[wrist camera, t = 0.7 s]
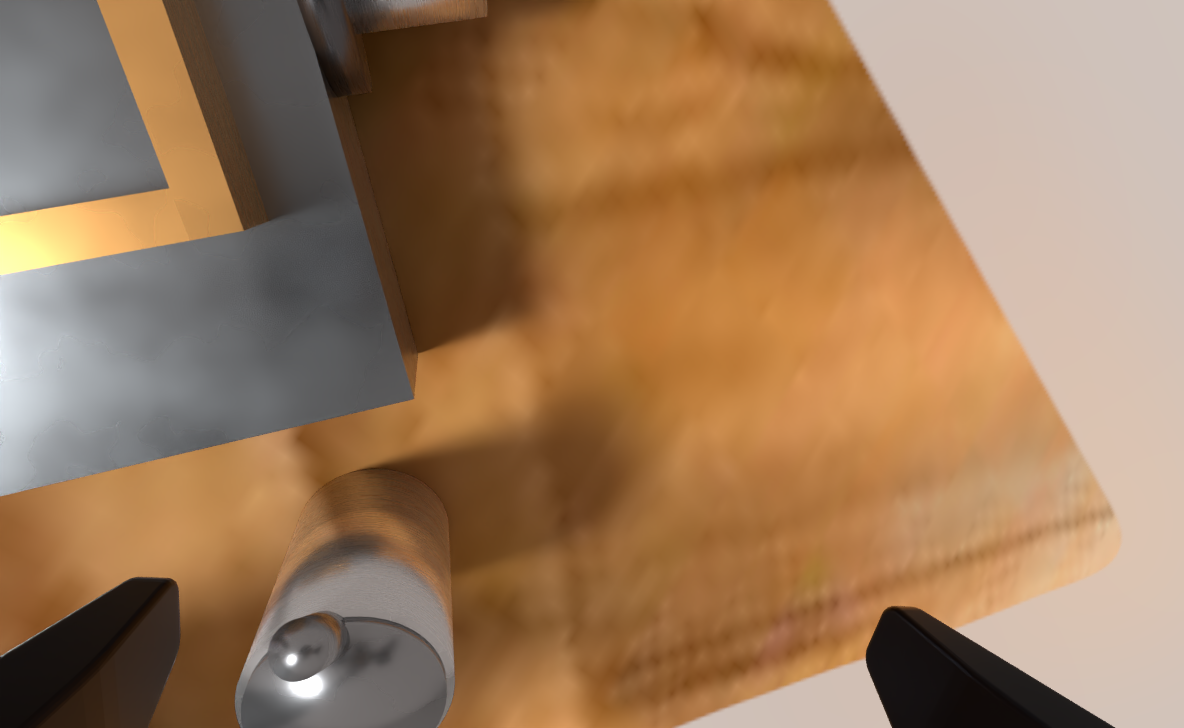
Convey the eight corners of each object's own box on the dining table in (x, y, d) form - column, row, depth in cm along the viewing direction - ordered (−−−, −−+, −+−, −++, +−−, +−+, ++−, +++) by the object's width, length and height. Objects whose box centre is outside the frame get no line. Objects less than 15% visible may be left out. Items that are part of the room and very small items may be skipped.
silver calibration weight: (323, 611, 22) (256, 879, 14) (266, 467, 20) (149, 683, 12) (463, 571, 23) (479, 801, 15) (422, 429, 21) (415, 606, 13)
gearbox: (-73, 460, 18) (-319, 607, 12) (-685, -538, 11) (-2001, -1355, 5) (537, 324, 21) (577, 389, 15) (369, -523, 14) (322, -1017, 8)
